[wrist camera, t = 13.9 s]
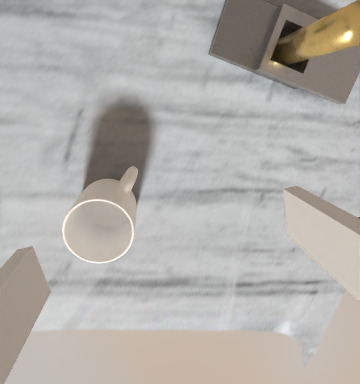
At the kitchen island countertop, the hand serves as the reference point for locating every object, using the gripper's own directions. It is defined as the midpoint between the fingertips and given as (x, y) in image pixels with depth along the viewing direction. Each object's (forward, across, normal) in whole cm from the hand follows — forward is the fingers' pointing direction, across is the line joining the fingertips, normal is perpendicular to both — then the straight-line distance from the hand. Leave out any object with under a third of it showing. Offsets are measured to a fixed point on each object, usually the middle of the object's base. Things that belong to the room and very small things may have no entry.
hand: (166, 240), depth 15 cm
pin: (+29, +21, +10) cm, 37 cm away
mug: (+29, -7, -5) cm, 30 cm away
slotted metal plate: (+29, +21, +10) cm, 37 cm away
